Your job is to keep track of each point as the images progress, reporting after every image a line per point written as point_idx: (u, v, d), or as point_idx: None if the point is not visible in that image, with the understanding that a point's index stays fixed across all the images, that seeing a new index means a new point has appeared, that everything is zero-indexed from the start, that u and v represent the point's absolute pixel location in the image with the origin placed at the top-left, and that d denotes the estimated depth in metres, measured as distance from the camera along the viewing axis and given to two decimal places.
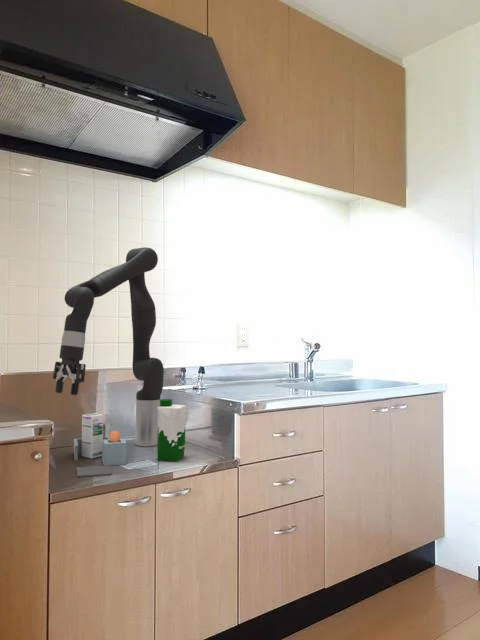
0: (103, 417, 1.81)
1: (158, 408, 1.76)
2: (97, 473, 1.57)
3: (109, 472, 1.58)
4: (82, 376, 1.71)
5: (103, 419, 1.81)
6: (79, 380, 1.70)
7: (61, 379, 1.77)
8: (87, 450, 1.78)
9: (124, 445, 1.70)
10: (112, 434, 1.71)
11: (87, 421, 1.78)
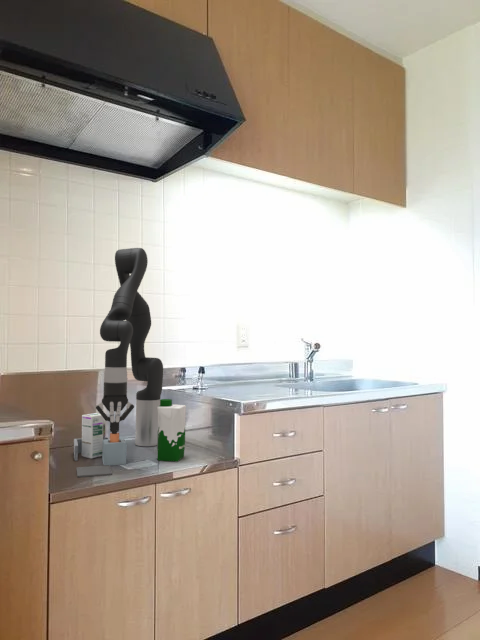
0: None
1: (158, 408, 1.76)
2: (97, 473, 1.57)
3: (109, 472, 1.58)
4: None
5: (103, 419, 1.81)
6: (124, 418, 1.73)
7: None
8: (87, 450, 1.78)
9: (124, 445, 1.70)
10: (112, 435, 1.71)
11: (87, 421, 1.78)
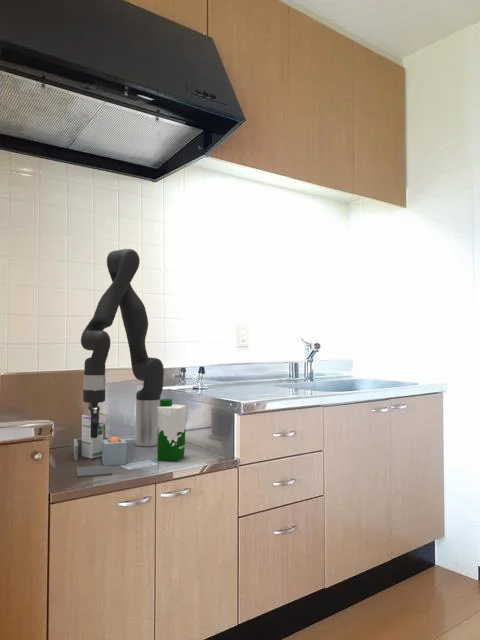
0: (103, 417, 1.81)
1: (158, 408, 1.76)
2: (97, 473, 1.57)
3: (109, 472, 1.58)
4: None
5: (103, 419, 1.81)
6: None
7: None
8: (87, 450, 1.78)
9: (124, 445, 1.70)
10: (112, 439, 1.71)
11: (87, 421, 1.78)
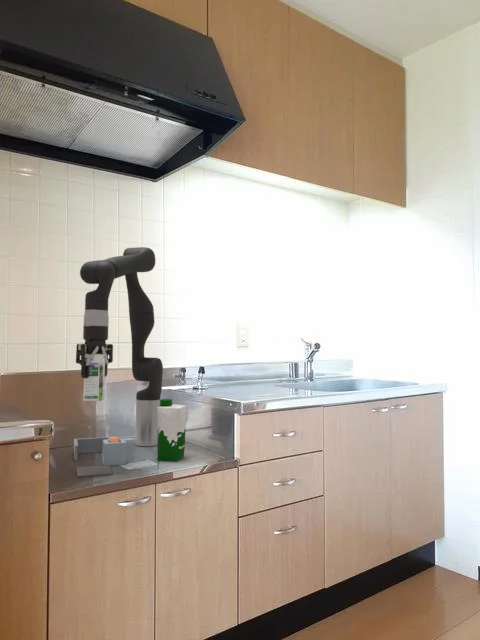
0: (100, 357, 1.61)
1: (158, 408, 1.76)
2: (97, 473, 1.57)
3: (109, 472, 1.58)
4: (106, 356, 1.69)
5: (100, 359, 1.61)
6: None
7: None
8: None
9: (124, 445, 1.70)
10: (112, 439, 1.71)
11: None
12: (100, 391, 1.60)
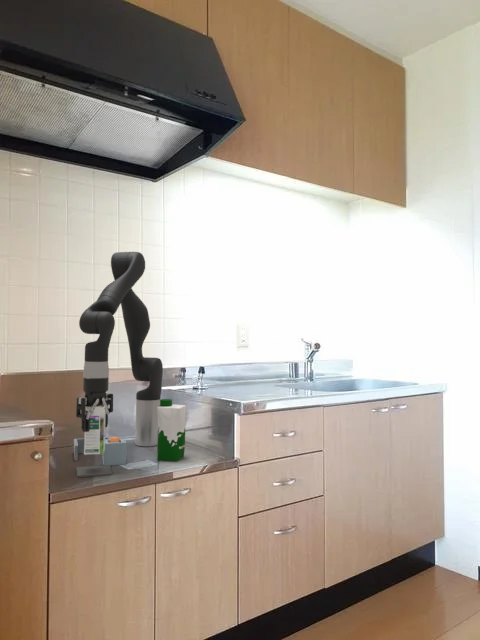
0: (100, 410, 1.58)
1: (158, 408, 1.76)
2: (97, 473, 1.57)
3: (109, 472, 1.58)
4: (107, 406, 1.67)
5: (100, 412, 1.58)
6: None
7: None
8: None
9: (124, 445, 1.70)
10: (112, 439, 1.71)
11: None
12: (101, 444, 1.58)
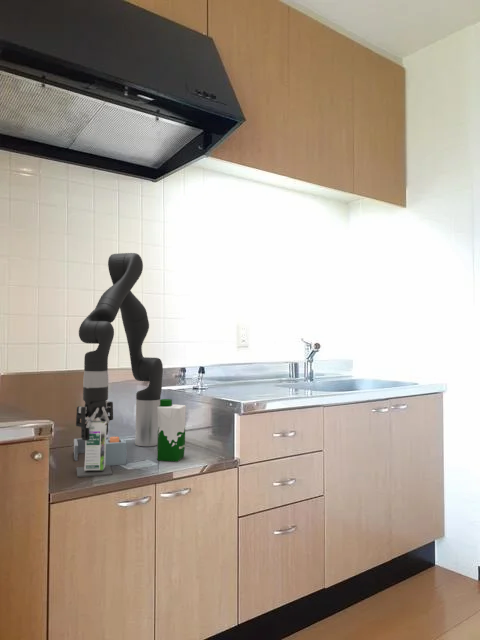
0: (101, 425, 1.59)
1: (158, 408, 1.76)
2: (97, 473, 1.57)
3: (109, 472, 1.58)
4: (107, 413, 1.68)
5: (101, 428, 1.59)
6: None
7: None
8: None
9: (124, 445, 1.70)
10: (112, 439, 1.71)
11: None
12: (101, 460, 1.58)
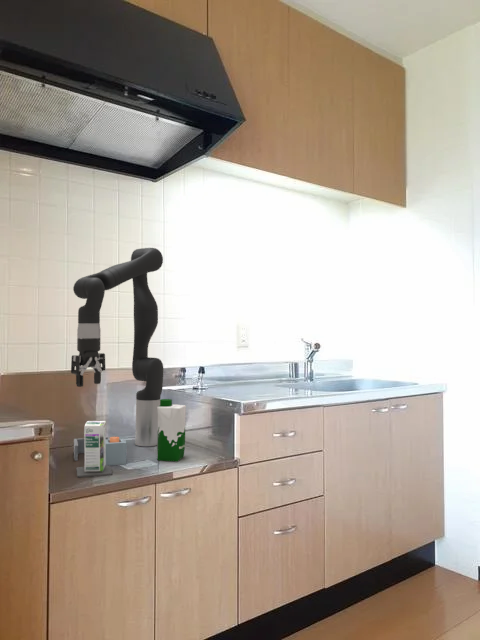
0: (100, 428, 1.57)
1: (158, 408, 1.76)
2: (97, 473, 1.57)
3: (109, 472, 1.58)
4: (99, 364, 1.82)
5: (100, 431, 1.57)
6: None
7: None
8: None
9: (124, 445, 1.70)
10: (112, 439, 1.71)
11: None
12: (101, 462, 1.58)
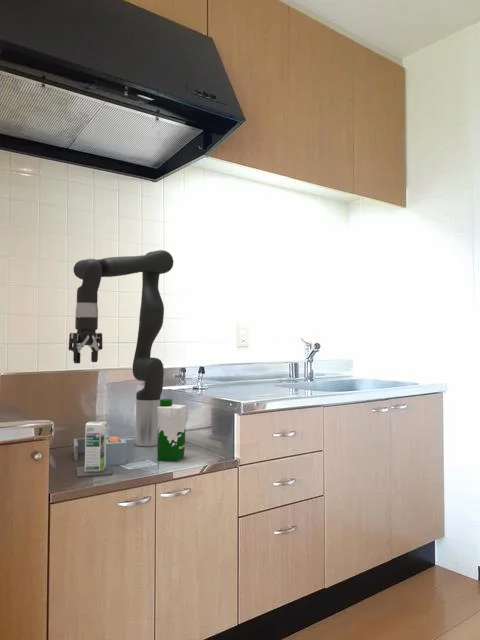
0: (101, 427, 1.59)
1: (158, 408, 1.76)
2: (97, 473, 1.57)
3: (109, 472, 1.58)
4: (97, 344, 1.88)
5: (101, 429, 1.59)
6: None
7: None
8: None
9: (124, 445, 1.70)
10: (112, 439, 1.71)
11: None
12: (101, 461, 1.58)
